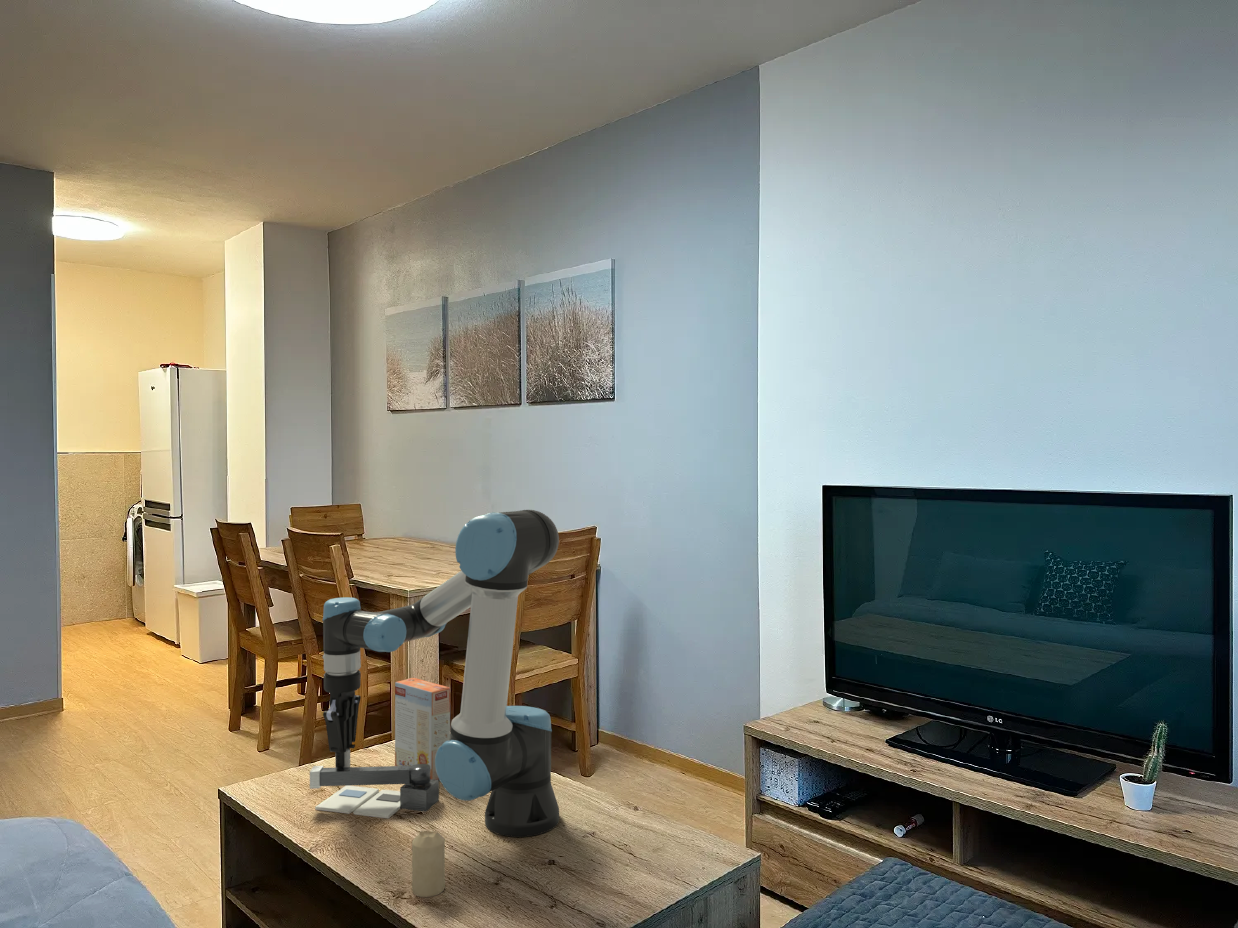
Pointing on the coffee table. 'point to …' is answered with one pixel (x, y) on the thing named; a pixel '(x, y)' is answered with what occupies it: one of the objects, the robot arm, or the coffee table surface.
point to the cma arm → (369, 775)
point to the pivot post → (419, 796)
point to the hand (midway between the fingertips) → (343, 779)
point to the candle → (428, 864)
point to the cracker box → (420, 722)
